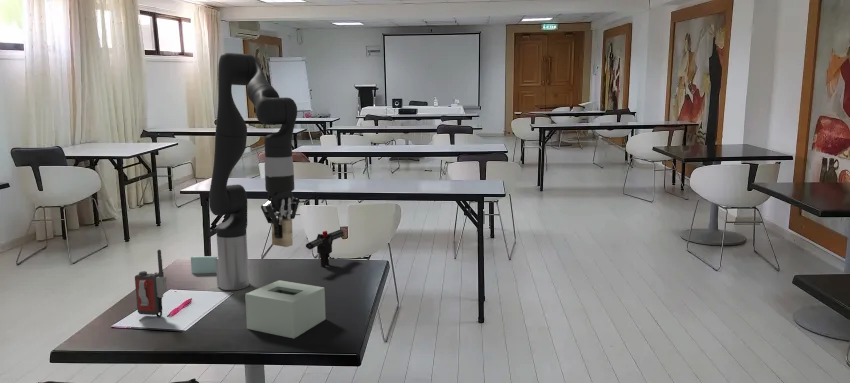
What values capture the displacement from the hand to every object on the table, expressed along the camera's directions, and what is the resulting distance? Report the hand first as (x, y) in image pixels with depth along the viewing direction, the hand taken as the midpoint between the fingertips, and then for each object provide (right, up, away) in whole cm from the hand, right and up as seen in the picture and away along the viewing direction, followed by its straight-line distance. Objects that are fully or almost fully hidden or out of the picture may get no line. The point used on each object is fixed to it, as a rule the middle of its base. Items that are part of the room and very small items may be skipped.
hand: (282, 236), depth 171 cm
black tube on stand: (+3, -17, +56) cm, 58 cm away
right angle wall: (-37, -17, +57) cm, 70 cm away
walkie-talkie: (-40, -24, +11) cm, 48 cm away
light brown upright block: (0, -2, 0) cm, 2 cm away
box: (0, -25, +4) cm, 25 cm away
